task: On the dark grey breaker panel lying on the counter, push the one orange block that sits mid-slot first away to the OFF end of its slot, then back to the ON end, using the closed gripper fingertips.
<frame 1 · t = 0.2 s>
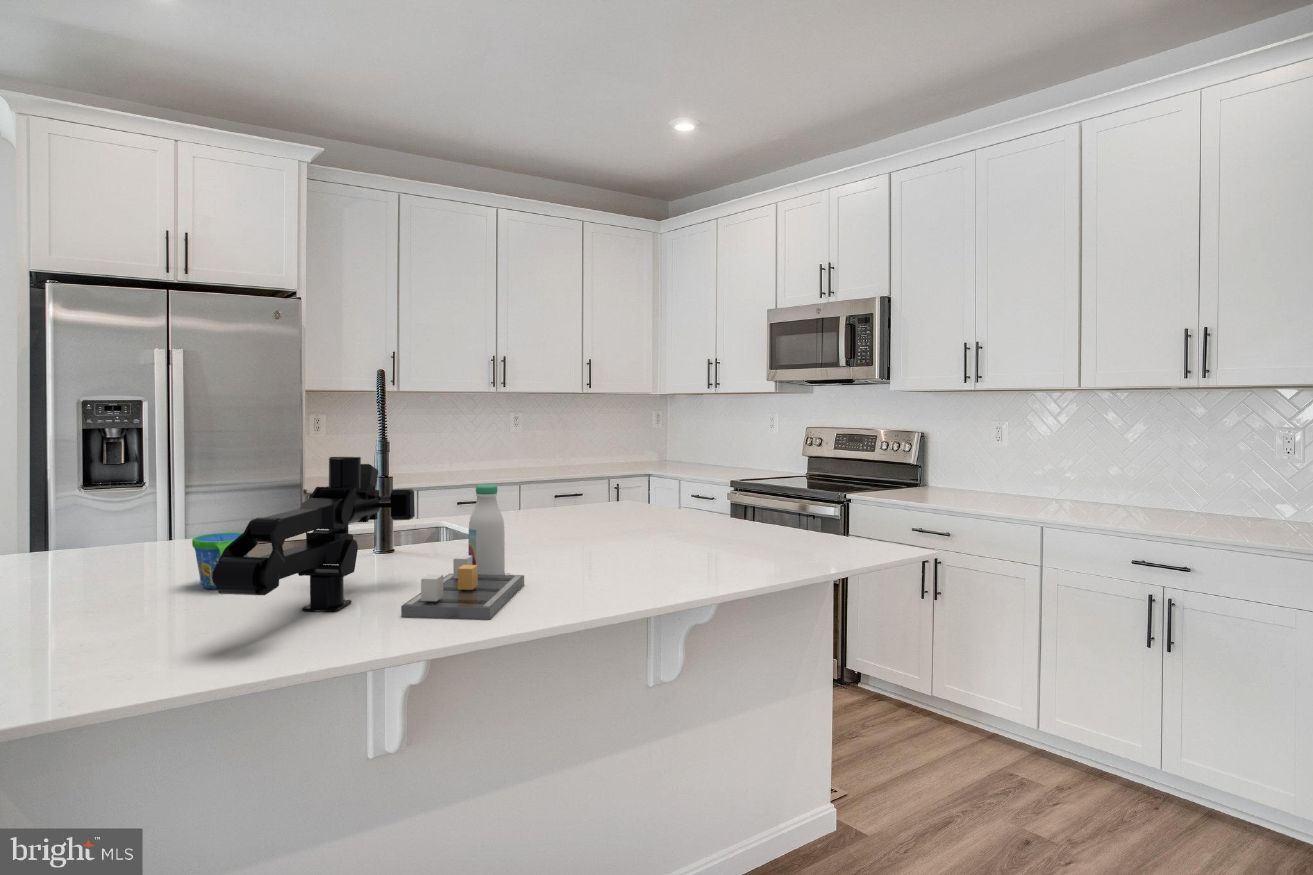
hand: (386, 501, 168), 17 cm above the counter, tool horizontal, fingers open, 9 cm apart
panel: (467, 599, 150), on the counter
orange block: (467, 577, 150), point 4 cm above the counter, slide at 0.0 cm
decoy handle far: (462, 578, 159), resting on panel
snack cup: (222, 586, 159), on the counter
grey small block: (432, 600, 141), resting on panel
milk bottle: (486, 577, 170), on the counter
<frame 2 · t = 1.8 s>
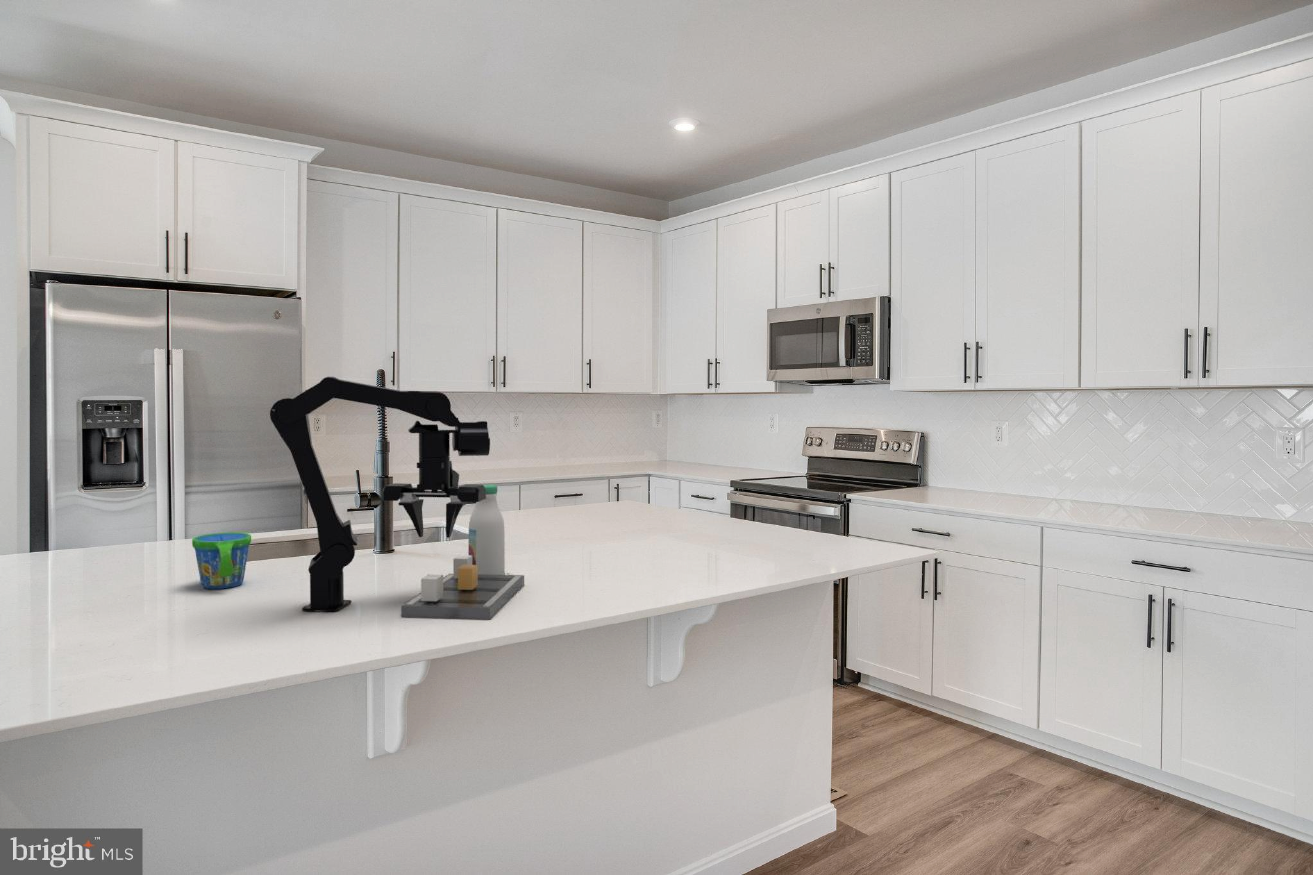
hand: (434, 537, 150), 12 cm above the counter, tool pointing down, fingers open, 5 cm apart
nothing on the counter moved.
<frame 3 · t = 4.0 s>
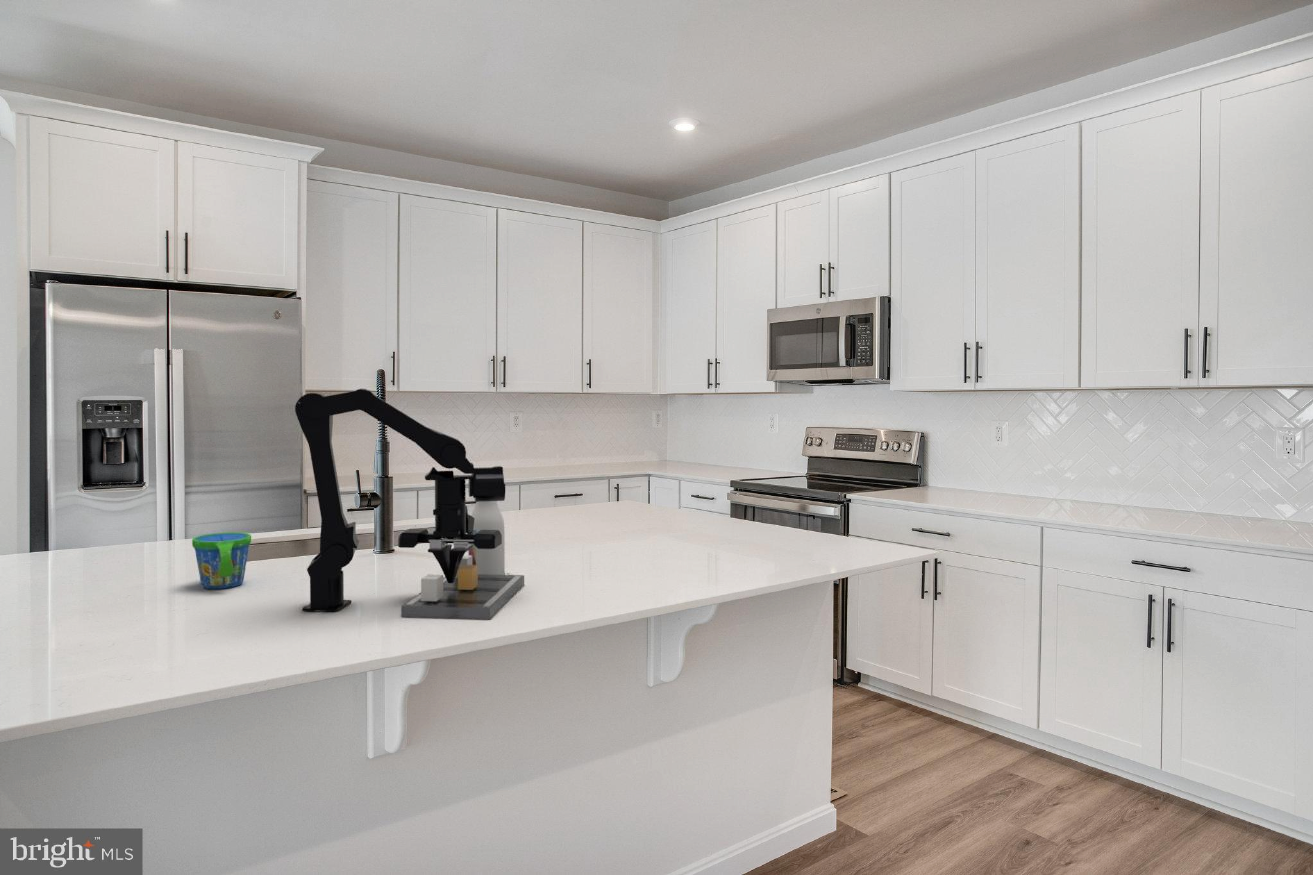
hand: (451, 582, 150), 3 cm above the counter, tool pointing down, fingers closed
orange block: (467, 577, 150), point 4 cm above the counter, slide at 0.0 cm, touching gripper
everything else where it was.
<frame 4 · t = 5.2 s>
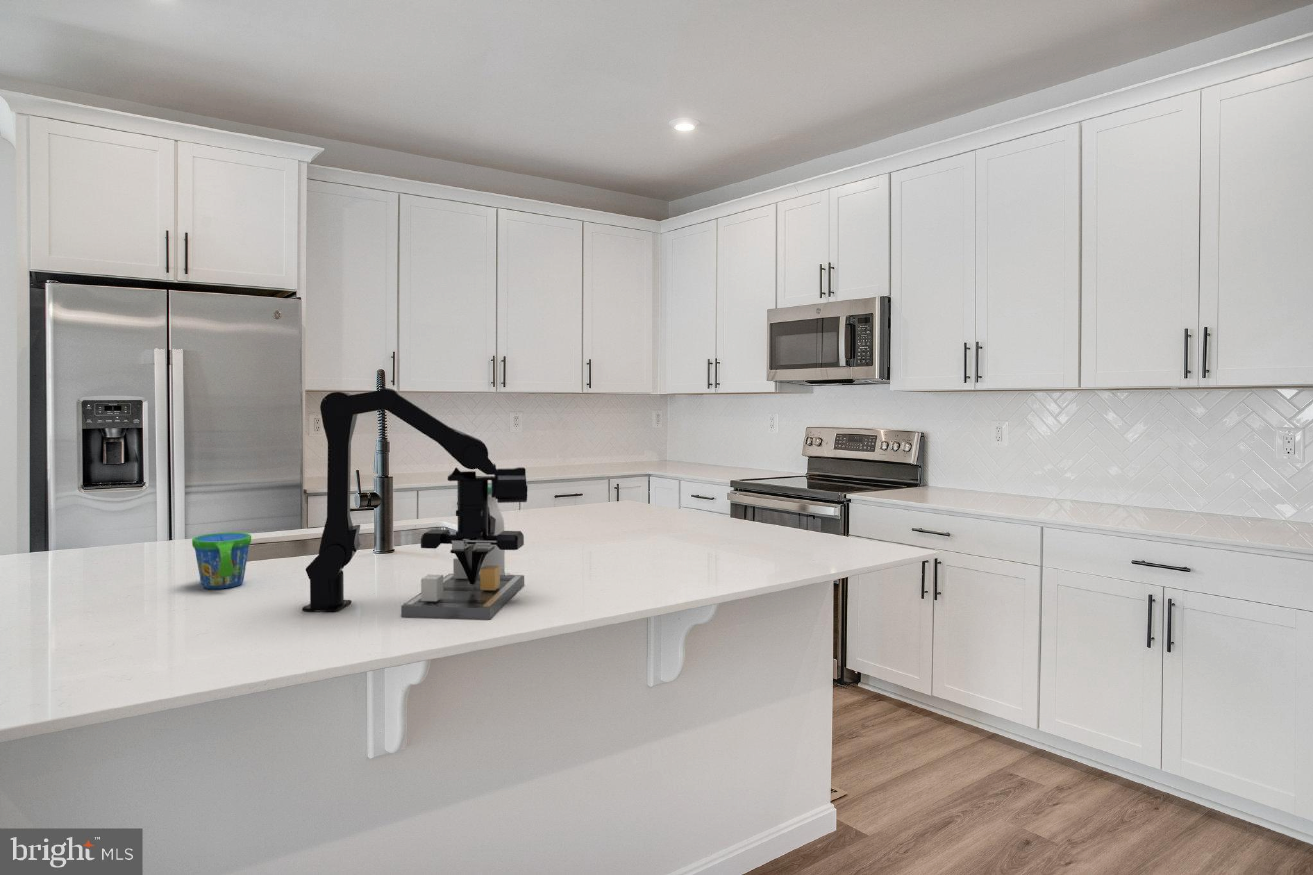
hand: (473, 583, 150), 3 cm above the counter, tool pointing down, fingers closed
orange block: (490, 577, 150), point 4 cm above the counter, slide at -4.4 cm, touching gripper
everything else where it was.
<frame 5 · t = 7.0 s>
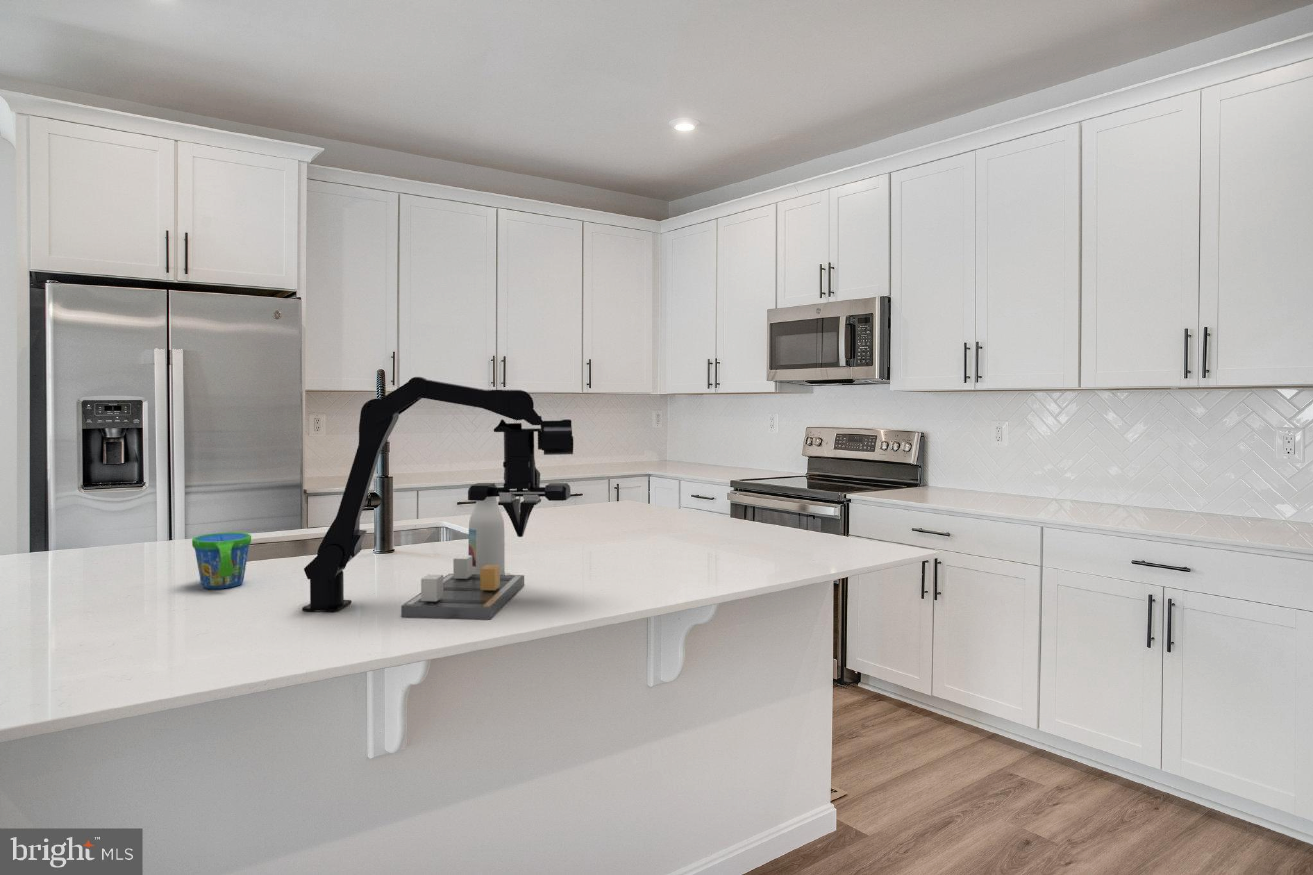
hand: (520, 536, 149), 12 cm above the counter, tool pointing down, fingers closed
orange block: (490, 577, 150), point 4 cm above the counter, slide at -4.4 cm
everything else where it was.
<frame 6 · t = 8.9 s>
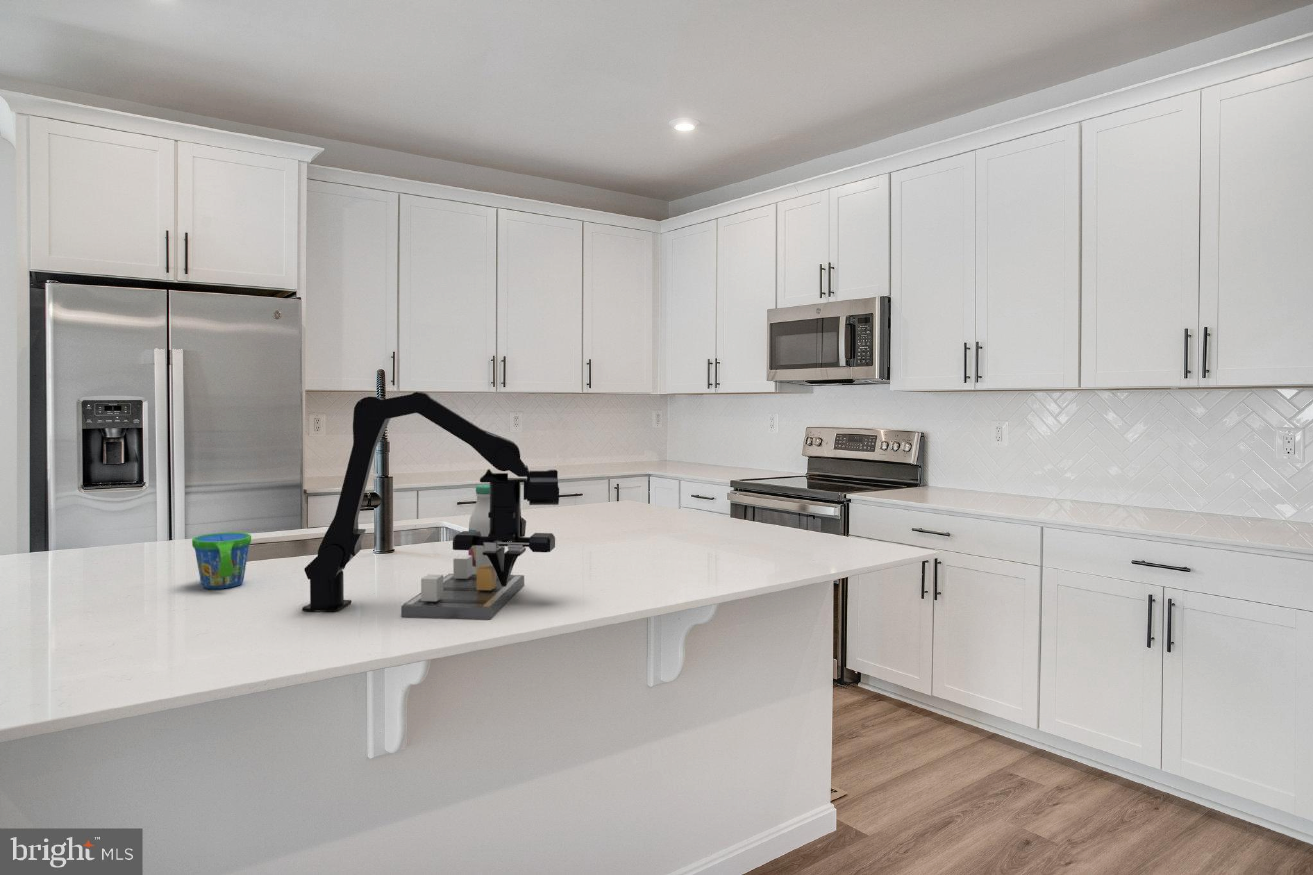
hand: (504, 586, 150), 3 cm above the counter, tool pointing down, fingers closed
orange block: (486, 577, 150), point 4 cm above the counter, slide at -3.6 cm, touching gripper
everything else where it was.
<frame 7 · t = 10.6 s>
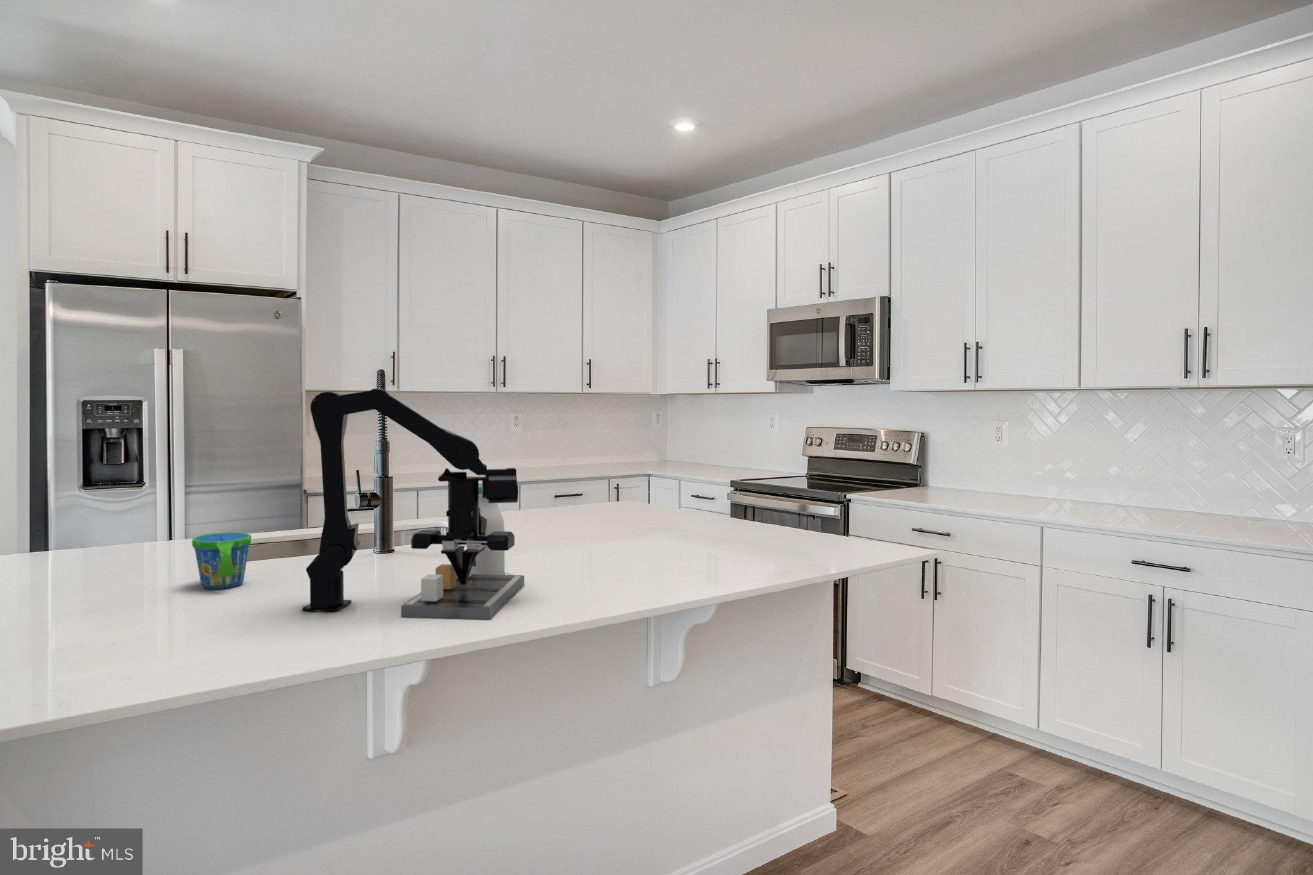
hand: (463, 584, 150), 3 cm above the counter, tool pointing down, fingers closed
orange block: (445, 576, 150), point 4 cm above the counter, slide at 4.3 cm, touching gripper
everything else where it was.
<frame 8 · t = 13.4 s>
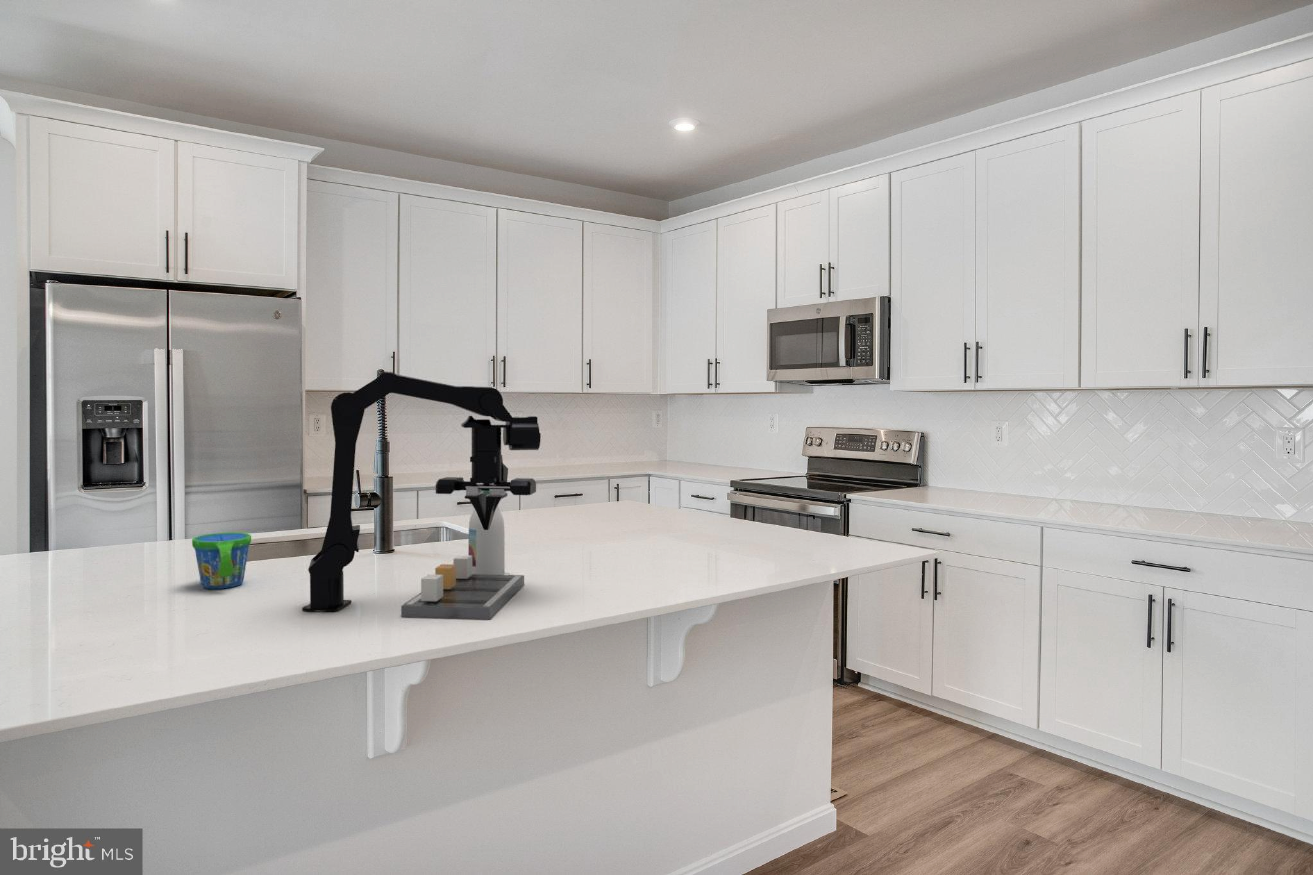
hand: (486, 529, 153), 13 cm above the counter, tool pointing down, fingers closed
orange block: (445, 576, 150), point 4 cm above the counter, slide at 4.4 cm
everything else where it was.
at the end: orange block slide at 4.4 cm; orange block touching nothing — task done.
